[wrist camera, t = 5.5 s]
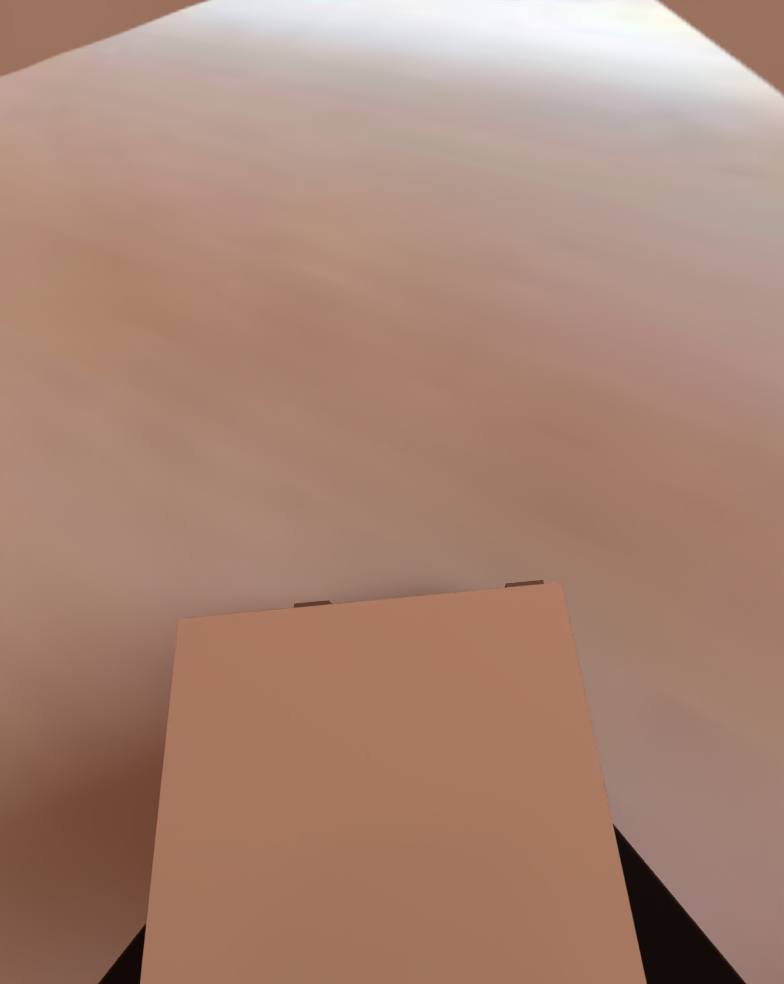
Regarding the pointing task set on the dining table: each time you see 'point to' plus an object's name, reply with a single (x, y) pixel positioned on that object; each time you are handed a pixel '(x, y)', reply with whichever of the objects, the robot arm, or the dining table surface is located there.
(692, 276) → the dining table surface
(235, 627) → the terracotta block
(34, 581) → the dining table surface
